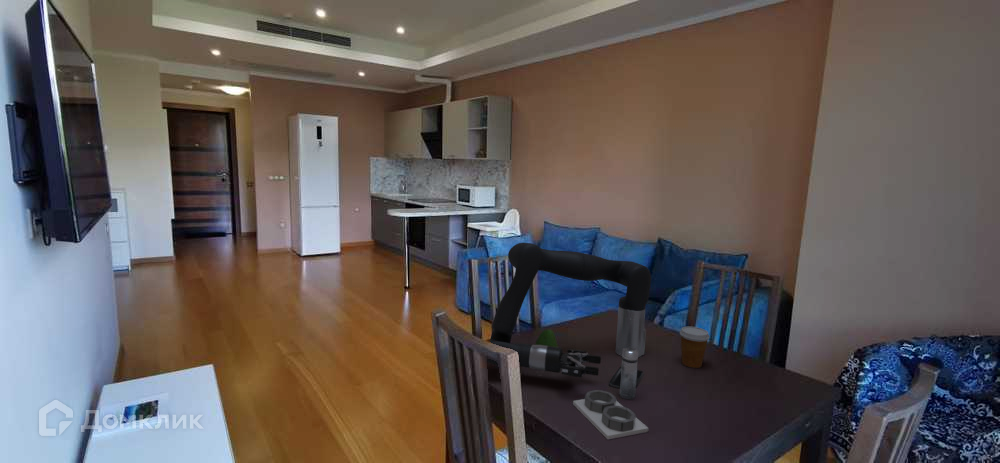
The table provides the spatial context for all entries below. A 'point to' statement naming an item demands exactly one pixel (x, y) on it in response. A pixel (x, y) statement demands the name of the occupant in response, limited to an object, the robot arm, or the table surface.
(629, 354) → the tube
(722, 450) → the table surface
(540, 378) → the table surface
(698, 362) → the disposable coffee cup
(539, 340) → the avocado
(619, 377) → the phone
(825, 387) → the table surface
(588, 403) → the hex nut holder
